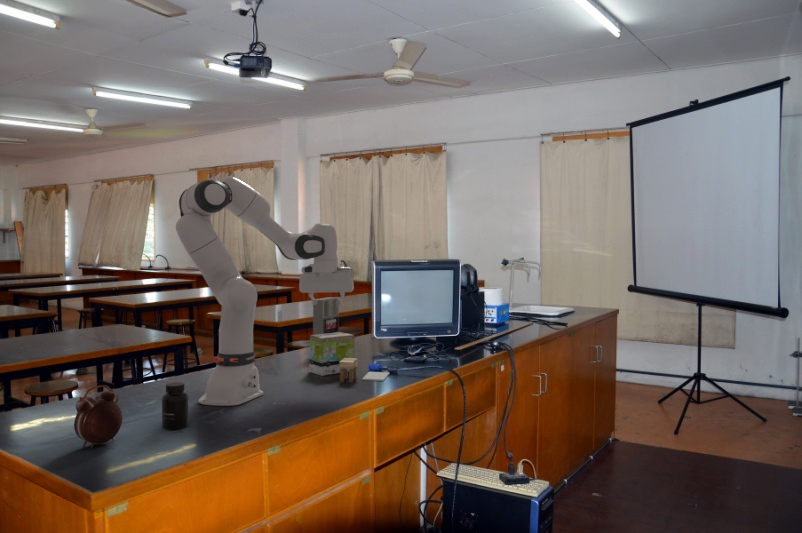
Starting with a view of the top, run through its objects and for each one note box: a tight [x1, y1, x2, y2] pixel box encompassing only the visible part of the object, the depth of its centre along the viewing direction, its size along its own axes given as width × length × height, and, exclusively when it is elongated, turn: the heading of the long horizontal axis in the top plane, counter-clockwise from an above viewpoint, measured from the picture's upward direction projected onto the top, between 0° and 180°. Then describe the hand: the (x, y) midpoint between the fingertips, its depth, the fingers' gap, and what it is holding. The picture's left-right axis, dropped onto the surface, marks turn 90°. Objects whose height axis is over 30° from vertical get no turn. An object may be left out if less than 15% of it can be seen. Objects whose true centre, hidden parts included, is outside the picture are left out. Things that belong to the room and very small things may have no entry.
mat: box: [362, 371, 390, 382], centre depth 230 cm, size 12×8×1 cm, turn 171°
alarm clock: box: [73, 384, 123, 449], centre depth 152 cm, size 11×5×15 cm, turn 150°
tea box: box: [308, 331, 356, 377], centre depth 238 cm, size 15×10×15 cm
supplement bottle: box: [161, 381, 189, 431], centre depth 167 cm, size 7×7×12 cm
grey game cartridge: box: [312, 296, 340, 335], centre depth 277 cm, size 14×6×25 cm, turn 155°
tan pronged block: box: [339, 357, 358, 383], centre depth 224 cm, size 7×5×8 cm
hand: (327, 304), depth 227 cm, fingers open, 8 cm apart
